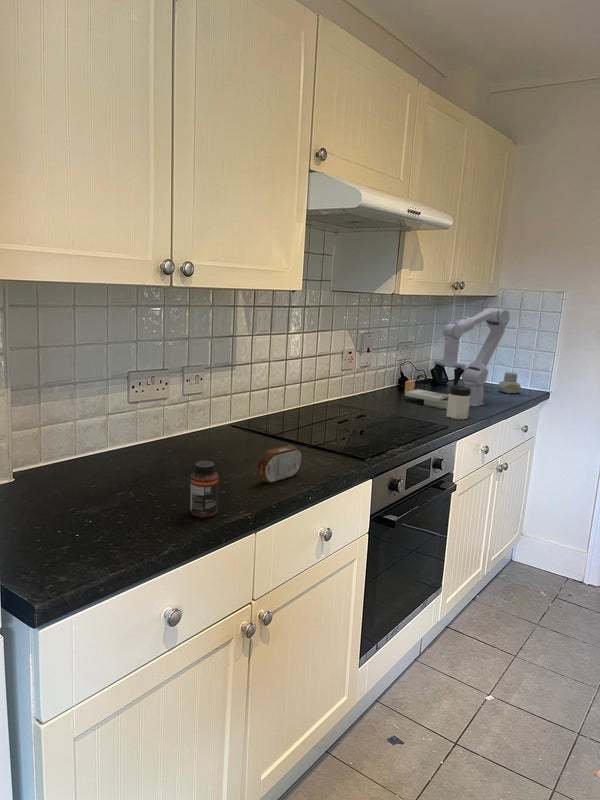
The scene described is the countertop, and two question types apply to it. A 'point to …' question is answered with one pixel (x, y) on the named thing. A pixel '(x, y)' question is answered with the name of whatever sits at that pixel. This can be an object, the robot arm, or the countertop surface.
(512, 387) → the air freshener
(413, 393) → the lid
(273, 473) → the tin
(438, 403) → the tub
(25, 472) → the countertop surface
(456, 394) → the jar
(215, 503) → the supplement bottle
